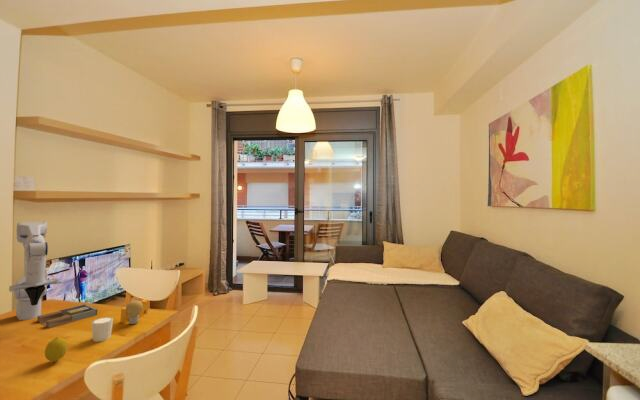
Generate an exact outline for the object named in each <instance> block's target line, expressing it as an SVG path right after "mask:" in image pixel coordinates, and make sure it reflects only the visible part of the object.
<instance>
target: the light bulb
mask: <svg viewBox="0 0 640 400" xmlns="http://www.w3.org/2000/svg"><path fill="white" fill-rule="evenodd" d="M141 301H142V300H138V299H135V300H131V301H129V302H128V303H127V304H126V306H125V307H126V312H127V314H128V315H129V322H128V324H129V325H136V324H138V323H139V320H140V317H139V313H140V312H141V311H142V308H143V304H142V302H141Z"/></svg>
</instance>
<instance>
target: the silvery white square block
mask: <svg viewBox="0 0 640 400" xmlns="http://www.w3.org/2000/svg"><path fill="white" fill-rule="evenodd" d="M78 310H80V313H83V312H87V311H90V308H88V307H82V308H78Z"/></svg>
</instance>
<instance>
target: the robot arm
mask: <svg viewBox="0 0 640 400" xmlns="http://www.w3.org/2000/svg"><path fill="white" fill-rule="evenodd" d="M47 231H48V223H47V222H46V221H43V222H42V221H34V222H33V221H32V222H31V221H29V222H28V221H27V222H24V221H23V222H22V221H19V222H17V224H16V240H17V242H18V243H21V244H22V245H23V248H24V249H23V250H24V253H23V254H24V255H23V257H24V258H23V259H24V260H23V261H24V263H23V266H24V267H23V269H24V270H23V273H24V275H23V277H21V278H20V279H19V280H17V281H16V283H15V284H14V285H9V286H8V287H9V288H8V291H9V293H12V292H14V299H15V300H16V301H17V302H16V306H15V307H16V308H15V309H16V310H15V317H17V320H20V321H26V320H32V319H36V318H38V316H40V315H42V298H43V296H45V295H47V291H48V288H47V287H48V286H49V285H50V286H51V285H58V284H59V282H60V279H59V278H57V277H56V278H49V279H46V267H47V266H46V265H47V264H46V263H47V256H48V255H49V243H48V242H47V241H46V240H45V239H46V236H47V235H46V234H47Z"/></svg>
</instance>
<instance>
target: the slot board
mask: <svg viewBox="0 0 640 400" xmlns="http://www.w3.org/2000/svg"><path fill="white" fill-rule="evenodd" d="M95 316H96V315H94V316H91V317H95ZM91 317H90V318H91ZM36 318H37V322H38V323H40V324H41V325H43V326H45V327H46V328H48V329H51V328H54V327H59V326H62V325H67V324H70V323H73V322H77V321H78V320H76V321H72V316H70V315H67V314H66V315H63V312H62V311H60V310H56V311H53V312H49V313H45V314H41V315H40V316H38V317H36ZM87 318H89V317H87ZM87 318H86V319H87ZM80 320H85V318H83V319H80ZM80 320H79V321H80Z"/></svg>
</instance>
